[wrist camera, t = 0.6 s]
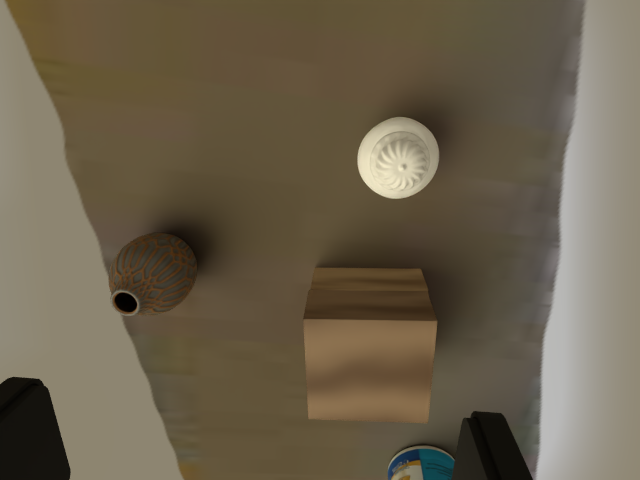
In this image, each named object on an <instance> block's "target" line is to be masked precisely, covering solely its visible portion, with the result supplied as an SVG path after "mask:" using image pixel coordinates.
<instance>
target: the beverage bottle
mask: <svg viewBox="0 0 640 480" xmlns="http://www.w3.org/2000/svg"><path fill="white" fill-rule="evenodd" d="M454 462H455V460H454V459H453V457H452V456H451V455H449V454H448V453H447V452H445V451H443V450H441V449H439V448H436V447H432V446H414V447H410V448H407V449H404V450H402V451H401V452H399V453H398V454H397V455H395V456H394V458H393V459H392V460H391V462H390V464H389V467H388V480H451V478H452V473H453V468H454Z"/></svg>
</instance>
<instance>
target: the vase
mask: <svg viewBox="0 0 640 480" xmlns="http://www.w3.org/2000/svg"><path fill="white" fill-rule="evenodd" d="M196 276H197V262H196V258H195V255H194V253H193V251H192V250H191V248H190V247H189V246H188V245H187V244H186V243H185V242H184V241H183V240H181V239H180V238H178V237H176V236H174V235H171V234H166V233H151V234H146V235H143V236H140V237H138V238H136V239H134V240H133V241H131V242H130V243H128V244H127V245H126V246H124V247H123V248H122V249H121V250H120V252H119V253H118V254H117V256H116V257H115V259H114V261H113V263H112V265H111V268H110V271H109V287H110V291H111V304H112V307H113V308H114V309H115V310H116V311H117V312H118V313H120V314H122V315H125V316H133V315H136V314H137V315H144V316H151V315H158V314H161V313H164V312H167V311H169V310H171V309H173V308H174V307H176V306H177V305H178V304H180V303H181V302H182V301H183V300H184V299H185V298H186V297H187V295H188V294H189V292H190V291H191V289H192V287H193V285H194V283H195V280H196Z"/></svg>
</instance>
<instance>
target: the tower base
mask: <svg viewBox="0 0 640 480" xmlns="http://www.w3.org/2000/svg"><path fill="white" fill-rule="evenodd" d="M311 290H366V291H427V292H429V291H428V288H427V285H426V282H425V279H424V277H423V274H422V271H421V269H401V268H315V269H314V274H313V280H312V285H311Z"/></svg>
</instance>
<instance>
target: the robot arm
mask: <svg viewBox="0 0 640 480" xmlns="http://www.w3.org/2000/svg"><path fill="white" fill-rule="evenodd" d="M69 479H70V467H69V463H68V459H67V456H66V452H65V448H64V445H63V441H62V438H61V434H60V431H59V426H58V423H57V419H56V416H55V412H54V409H53V404H52V401H51V397H50V393H49V390H48V388H47V387H45V386H44V384H43V383H42V381H41V380H39V379H34V378H20V377H12V378H8V379H7V380H5V381H4V382H2V383H1V384H0V480H69ZM451 480H533V479H532V476H531V474H530V472H529V470H528V467H527V465H526V463H525V461H524V459H523V456H522V454H521V452H520V450H519V448H518V445H517V443H516V441H515V439H514V437H513V434H512V432H511V430H510V428H509V426H508V423H507V421H506V419H505V417H504V416H503V415H502V414H501V413H491V412H478V411H473V413H472V415H471V418H464V419H463V421H462V425H461V431H460V436H459V441H458V446H457V452H456V457H455V462H454V468H453V473H452V478H451Z"/></svg>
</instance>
